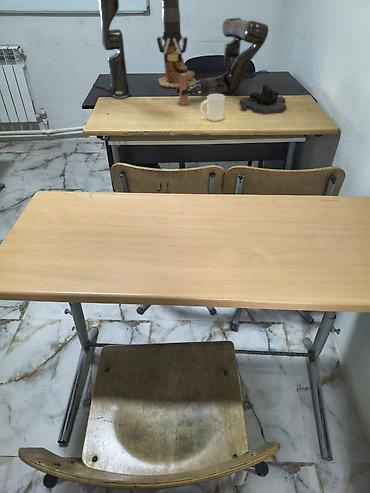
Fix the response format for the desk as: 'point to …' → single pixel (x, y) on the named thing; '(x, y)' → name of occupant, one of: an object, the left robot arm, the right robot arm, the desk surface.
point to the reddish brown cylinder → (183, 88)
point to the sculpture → (175, 71)
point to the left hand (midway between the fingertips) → (173, 62)
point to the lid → (172, 57)
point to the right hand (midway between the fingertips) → (179, 91)
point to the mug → (214, 107)
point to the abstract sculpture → (264, 101)
